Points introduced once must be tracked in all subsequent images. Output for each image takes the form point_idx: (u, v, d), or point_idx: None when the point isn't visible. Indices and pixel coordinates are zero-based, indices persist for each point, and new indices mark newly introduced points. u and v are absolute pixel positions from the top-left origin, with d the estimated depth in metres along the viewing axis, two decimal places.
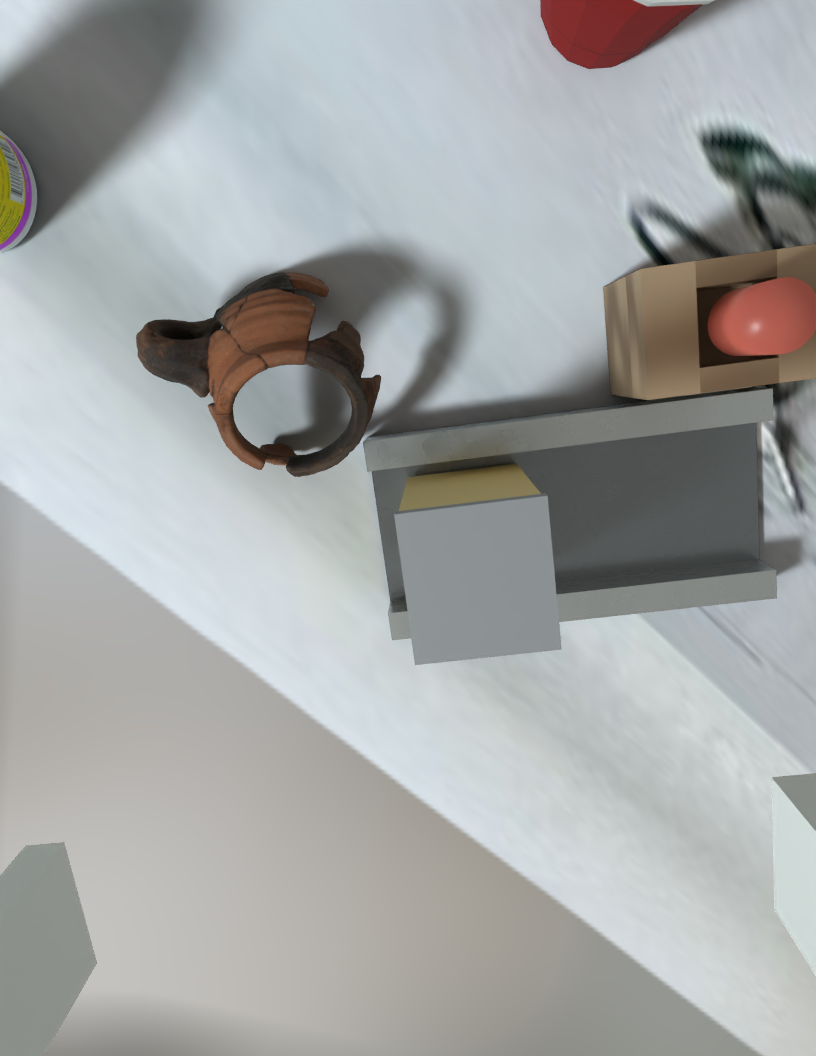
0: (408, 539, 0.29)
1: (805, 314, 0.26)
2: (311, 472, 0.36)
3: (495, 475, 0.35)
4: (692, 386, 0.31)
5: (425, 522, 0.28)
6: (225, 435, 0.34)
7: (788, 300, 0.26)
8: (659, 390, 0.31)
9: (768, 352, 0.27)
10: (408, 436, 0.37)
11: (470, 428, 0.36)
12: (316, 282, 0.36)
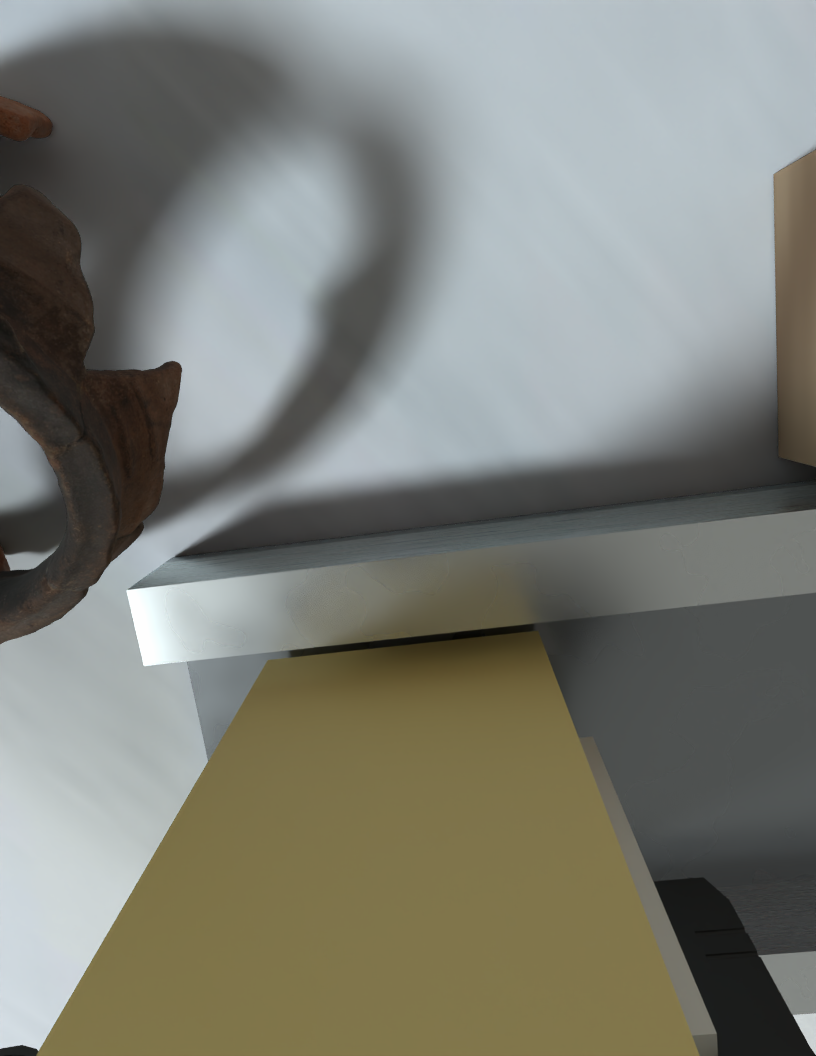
0: None
1: None
2: None
3: (482, 708, 0.12)
4: None
5: None
6: None
7: None
8: None
9: None
10: (247, 577, 0.14)
11: (415, 557, 0.13)
12: None
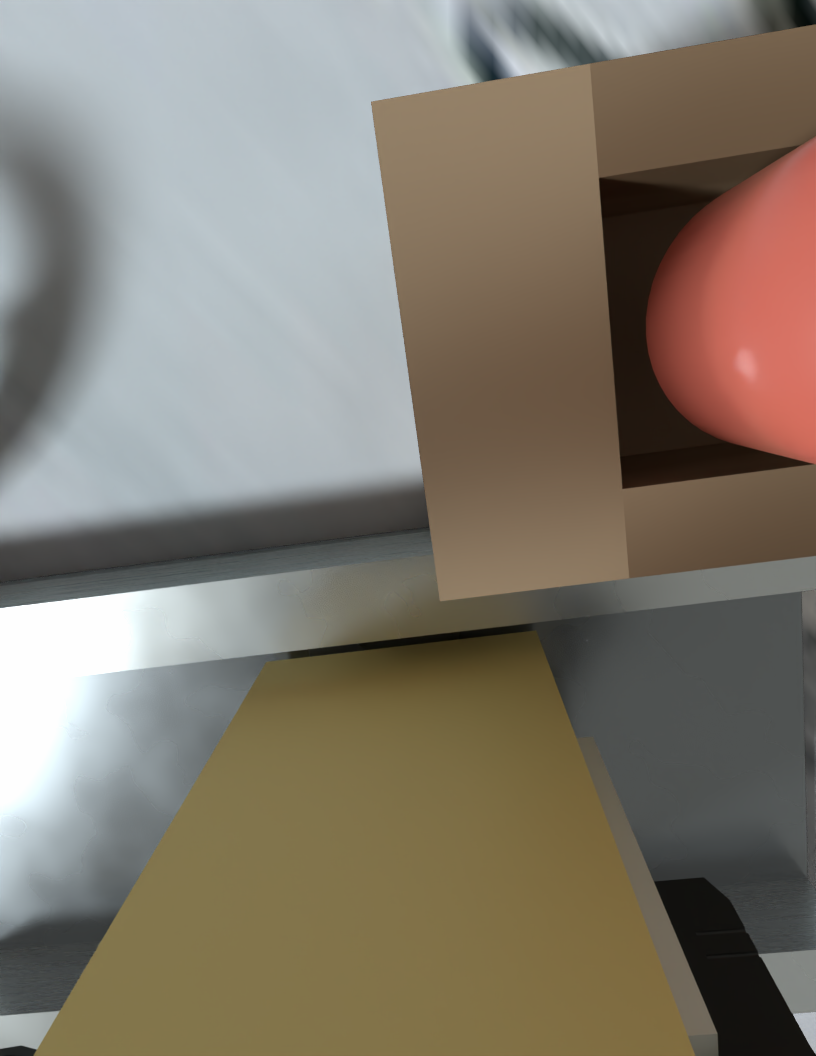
0: None
1: None
2: None
3: (480, 708, 0.12)
4: (598, 554, 0.08)
5: None
6: None
7: None
8: (477, 569, 0.08)
9: None
10: None
11: (51, 603, 0.14)
12: None
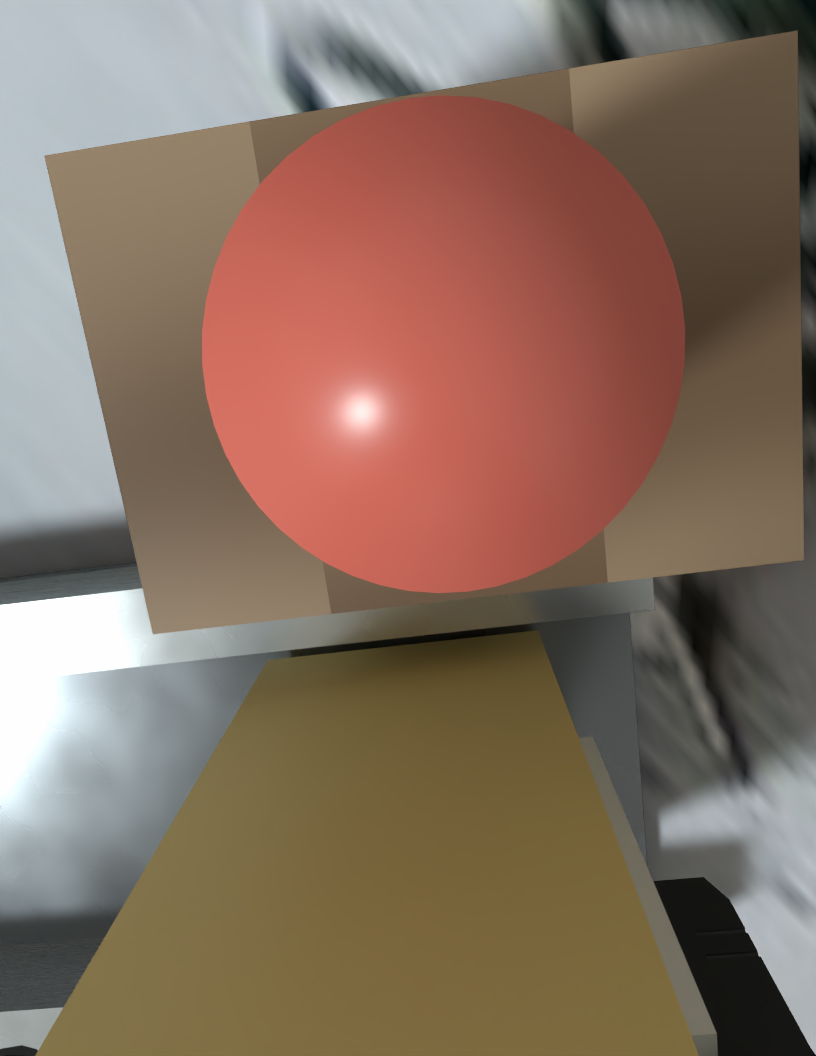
0: None
1: (589, 352, 0.04)
2: None
3: (482, 707, 0.12)
4: (299, 591, 0.09)
5: None
6: None
7: (470, 259, 0.04)
8: (185, 604, 0.09)
9: (383, 580, 0.04)
10: None
11: None
12: None
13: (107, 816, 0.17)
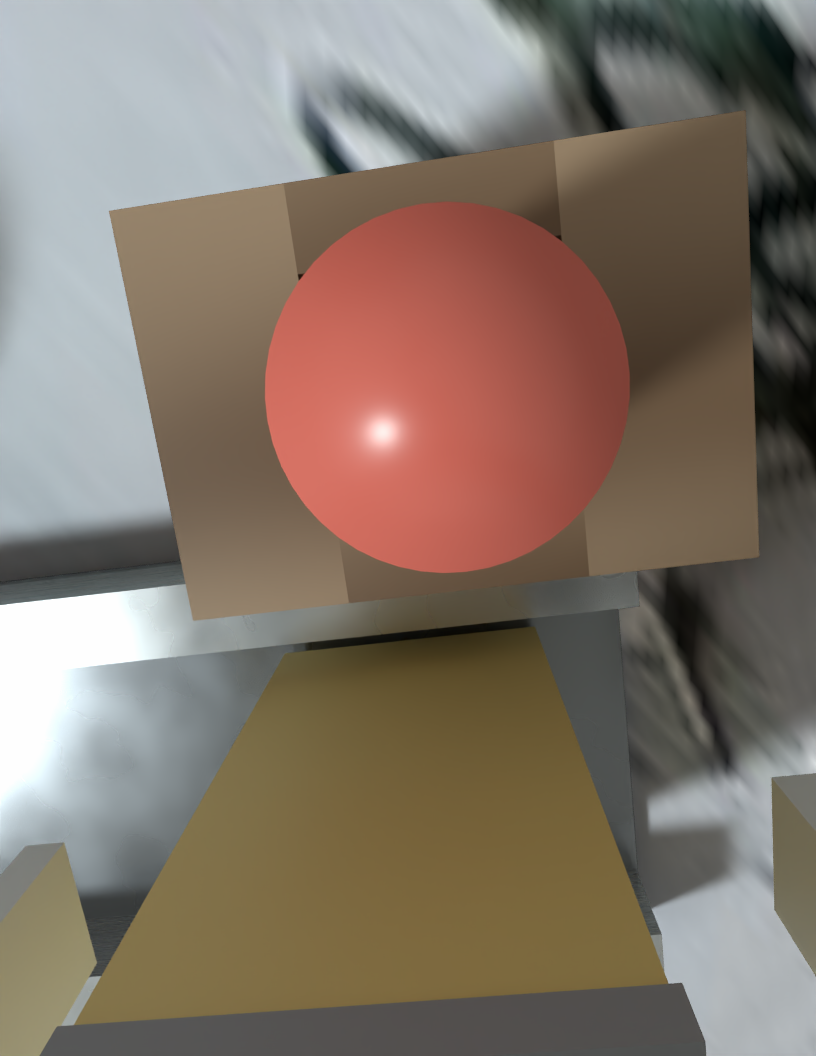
0: None
1: (557, 389, 0.05)
2: None
3: (483, 693, 0.13)
4: (321, 583, 0.10)
5: None
6: None
7: (468, 320, 0.05)
8: (222, 594, 0.10)
9: (401, 563, 0.06)
10: None
11: None
12: None
13: (132, 800, 0.18)
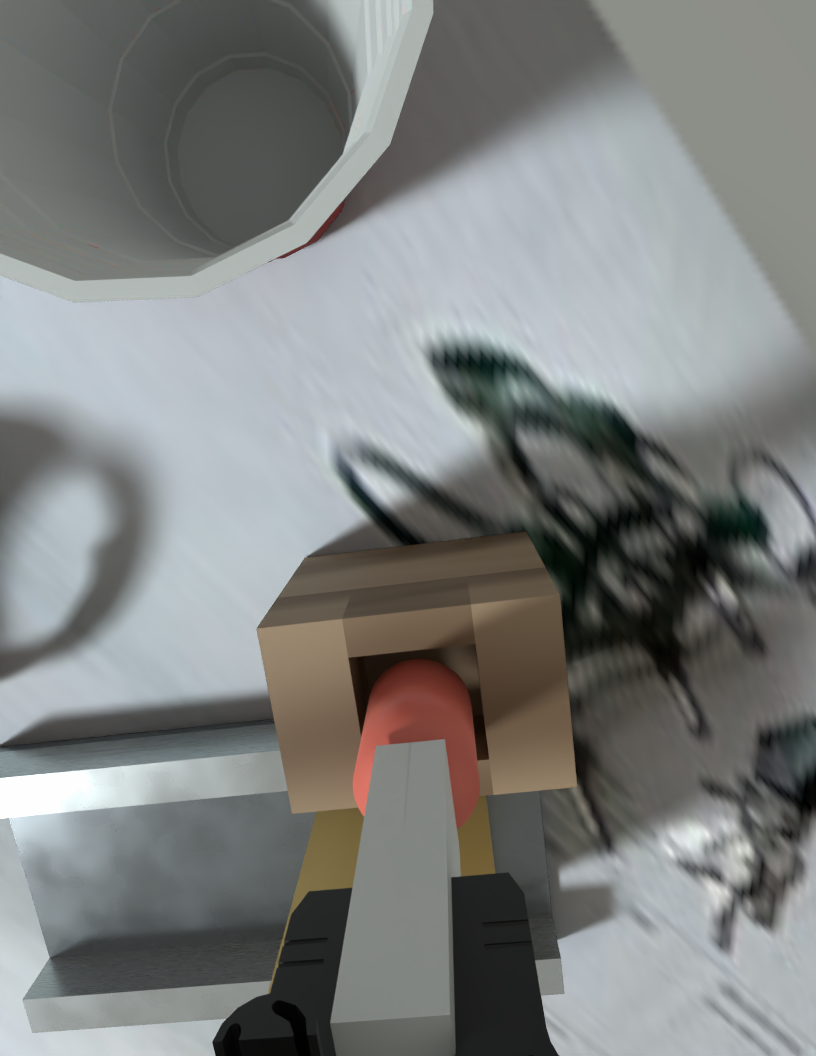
0: None
1: (454, 785, 0.15)
2: None
3: None
4: None
5: None
6: None
7: None
8: (307, 801, 0.20)
9: None
10: (19, 777, 0.25)
11: (106, 768, 0.25)
12: None
13: (222, 870, 0.28)
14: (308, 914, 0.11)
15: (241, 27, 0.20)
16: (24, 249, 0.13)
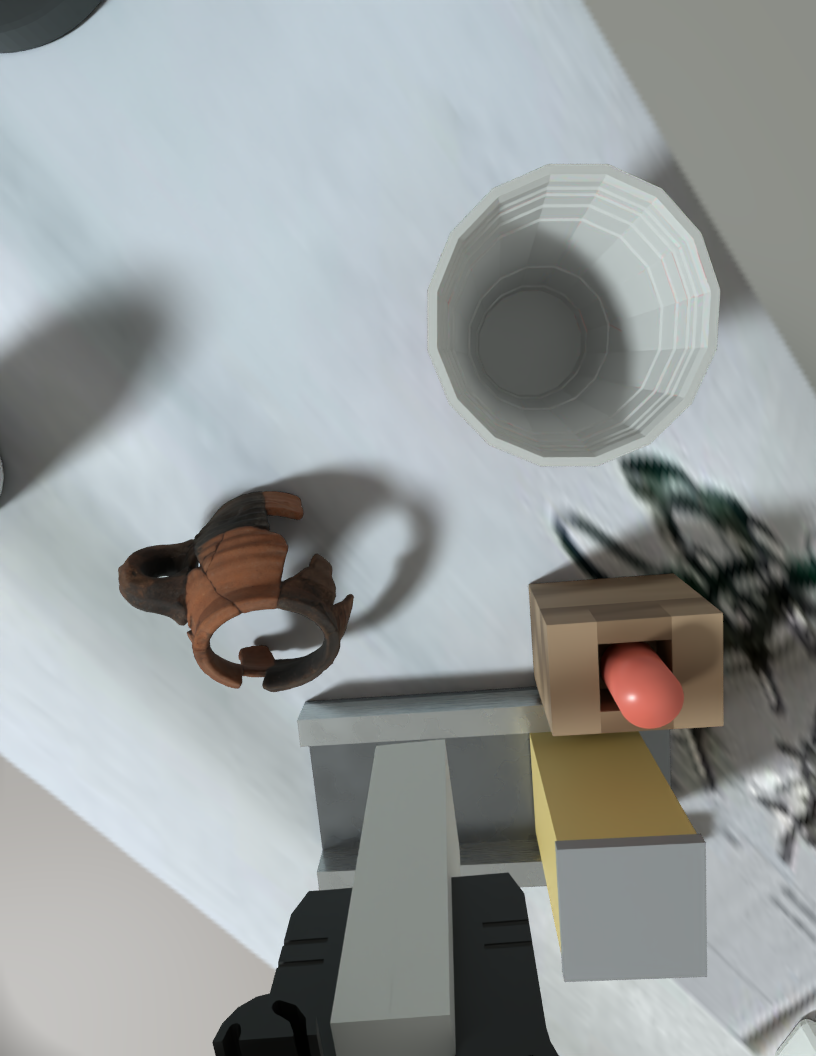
0: (568, 872, 0.30)
1: (671, 698, 0.30)
2: (287, 688, 0.37)
3: (624, 756, 0.37)
4: (593, 727, 0.33)
5: (586, 858, 0.30)
6: (202, 665, 0.35)
7: (656, 686, 0.30)
8: (563, 728, 0.33)
9: (639, 726, 0.31)
10: (339, 718, 0.39)
11: (398, 714, 0.39)
12: (291, 507, 0.37)
13: None
14: (308, 915, 0.11)
15: (539, 277, 0.34)
16: (509, 437, 0.27)
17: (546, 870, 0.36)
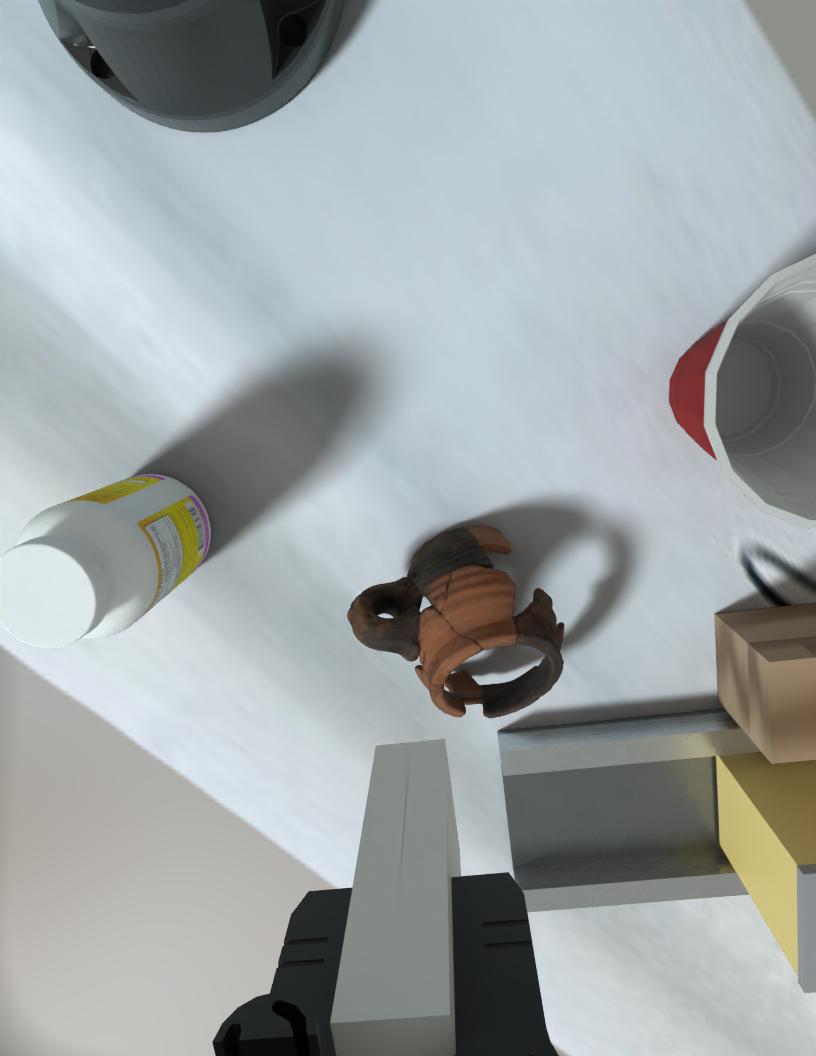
0: (812, 894, 0.32)
1: None
2: (504, 714, 0.39)
3: None
4: (811, 754, 0.35)
5: None
6: (436, 698, 0.37)
7: None
8: (781, 756, 0.36)
9: None
10: (541, 748, 0.41)
11: (597, 742, 0.41)
12: (500, 542, 0.39)
13: (637, 810, 0.44)
14: (308, 915, 0.11)
15: (742, 329, 0.36)
16: (772, 501, 0.29)
17: (753, 884, 0.39)
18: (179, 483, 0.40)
